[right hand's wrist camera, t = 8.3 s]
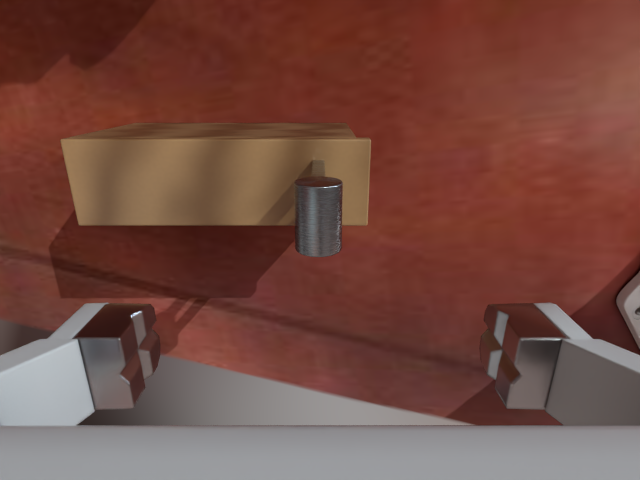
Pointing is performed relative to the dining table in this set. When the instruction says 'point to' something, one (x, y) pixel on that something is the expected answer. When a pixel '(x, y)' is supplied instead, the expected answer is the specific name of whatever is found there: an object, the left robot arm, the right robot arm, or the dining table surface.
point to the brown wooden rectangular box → (225, 130)
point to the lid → (223, 184)
